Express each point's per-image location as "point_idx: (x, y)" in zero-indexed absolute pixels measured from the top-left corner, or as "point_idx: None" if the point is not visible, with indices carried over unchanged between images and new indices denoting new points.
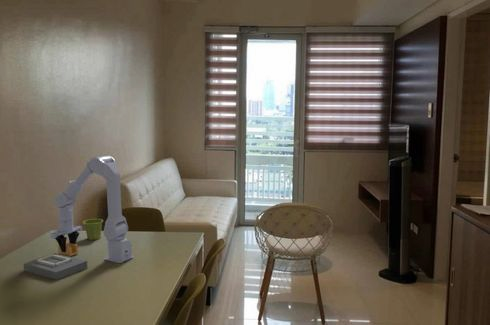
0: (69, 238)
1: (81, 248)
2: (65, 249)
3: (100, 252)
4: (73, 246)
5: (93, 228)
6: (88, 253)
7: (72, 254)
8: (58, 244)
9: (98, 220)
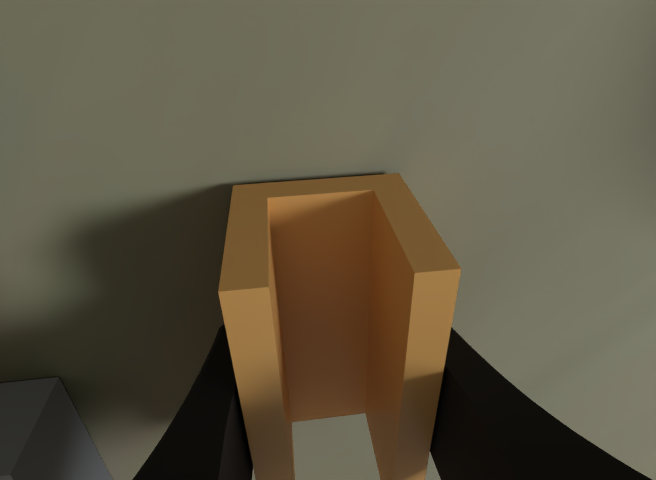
0: (496, 470)
1: (595, 237)
2: None
3: None
4: (385, 446)
5: None
6: None
7: (300, 410)
8: (231, 300)
9: None
